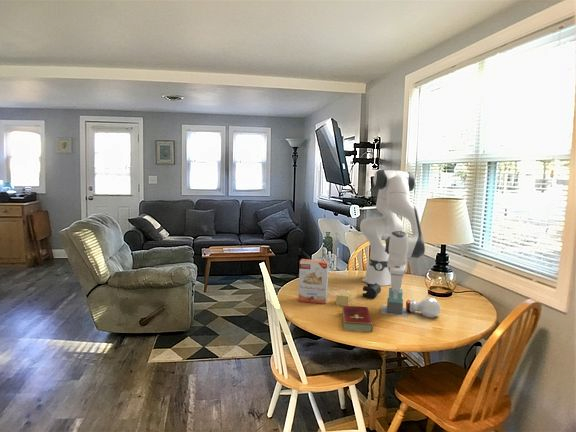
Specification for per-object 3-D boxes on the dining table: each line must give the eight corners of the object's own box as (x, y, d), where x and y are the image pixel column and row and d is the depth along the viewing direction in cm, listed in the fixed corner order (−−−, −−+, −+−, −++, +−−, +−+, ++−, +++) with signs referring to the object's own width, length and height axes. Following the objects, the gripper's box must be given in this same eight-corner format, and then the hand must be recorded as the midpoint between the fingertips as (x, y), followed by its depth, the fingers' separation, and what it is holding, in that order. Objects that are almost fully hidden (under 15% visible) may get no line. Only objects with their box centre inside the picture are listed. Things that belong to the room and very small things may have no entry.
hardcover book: (367, 314, 191) (368, 306, 190) (372, 333, 170) (373, 323, 169) (341, 313, 192) (342, 304, 191) (343, 331, 171) (343, 321, 171)
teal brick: (388, 297, 196) (389, 287, 195) (401, 299, 194) (402, 289, 194) (388, 301, 190) (389, 291, 190) (401, 303, 189) (402, 292, 188)
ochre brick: (337, 301, 208) (338, 291, 207) (349, 302, 206) (350, 293, 206) (335, 304, 202) (336, 295, 202) (348, 306, 201) (348, 296, 200)
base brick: (387, 307, 197) (387, 297, 197) (402, 309, 195) (402, 299, 195) (386, 312, 190) (387, 302, 190) (402, 314, 189) (402, 303, 188)
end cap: (375, 301, 209) (376, 288, 208) (362, 299, 213) (362, 286, 212) (380, 296, 218) (381, 283, 217) (367, 293, 221) (368, 281, 221)
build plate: (382, 307, 200) (382, 305, 200) (407, 310, 197) (407, 308, 197) (380, 315, 189) (380, 313, 189) (407, 318, 186) (408, 316, 186)
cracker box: (297, 301, 205) (299, 260, 202) (300, 298, 211) (301, 258, 208) (325, 304, 202) (327, 263, 199) (327, 300, 208) (328, 260, 205)
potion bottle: (441, 323, 185) (407, 320, 193) (443, 306, 191) (411, 304, 199) (437, 310, 180) (403, 307, 188) (440, 293, 186) (407, 291, 194)
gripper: (390, 261, 201) (389, 288, 203) (389, 271, 182) (387, 301, 183) (404, 262, 199) (402, 289, 201) (404, 272, 180) (402, 302, 182)
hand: (395, 295), depth 192 cm, fingers open, 8 cm apart
